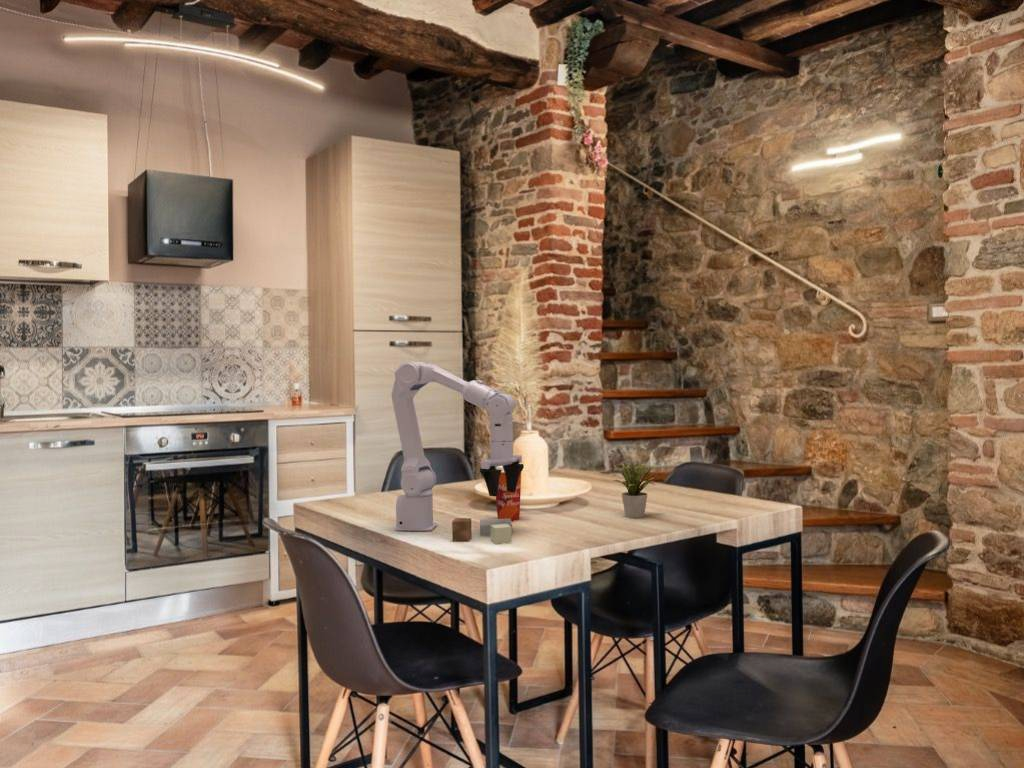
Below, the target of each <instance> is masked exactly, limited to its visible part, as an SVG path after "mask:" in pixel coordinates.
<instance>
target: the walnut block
mask: <svg viewBox="0 0 1024 768" xmlns="http://www.w3.org/2000/svg"><path fill="white" fill-rule="evenodd" d="M451 533H452V542H455V543H456V542H458V543H459V542H463V543H464V542H466V543H467V542H468V543H469V542H470V540H471V539H472V538H473V537H472V535H473V534H472V517H469V518H468V517H464V518H463V517H460V518H459V517H455V518H454V519H453V520H452V521H451Z"/></svg>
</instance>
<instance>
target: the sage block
mask: <svg viewBox="0 0 1024 768" xmlns="http://www.w3.org/2000/svg"><path fill="white" fill-rule="evenodd" d="M490 542H492V543H493V544H494V545H503V544H502V543H506V544H511V543H512V535H511V526H509V525H507V524H497V525H491V536H490ZM510 542H511V543H510Z"/></svg>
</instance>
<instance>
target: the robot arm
mask: <svg viewBox="0 0 1024 768" xmlns="http://www.w3.org/2000/svg"><path fill="white" fill-rule="evenodd" d="M429 383H437V384H439V385H441V386H444V387H446V388H448V389H451V390H453V391H456V392H458V393H460V394H462V397H463V400H464V401H466V402H468V403H470V404H471V405H472V404H473V405H474V406H476V407H478V408H480V409H482V410H485V411H487V413H488V414H489V416H490V417H489V418H490V419H489V423H490V424H489V429H490V431H489V432H490V433H489V434H490V438H489V439H490V442H489V443H490V457H489V458H486V459H483V460H481V461H480V467H479V472H480V474H481V475H482V478H483V479H484V482H485V485H486V488H487V492H488V495H489V497H494V498H496V496H497V495H498V483H499V477H500V474H501V471H502V470H498V469H496V468H495V467H498V466H503V469H504V472H505V476H506V485H507V491H508V492H515V491H516V487H517V482H518V479H519V476H520V473H521V474H522V471H524V468H525V467H524V466H525V465H524V463H523V456H522V454H514V444H513V443H514V430H513V428H514V425H513V424H514V422H513V412H514V411H515V410H516V409H515V408H516V401H515V399H514V397H513V396H512V395H510V394H509V392H501V393H500V389H498V388H492V387H489V386H487V385H486V384H484V381H483V380H481V379H477V380H475V379H474V380H470V381H466V380H464V379H462V378H460V377H458V376H456V375H454V373H451V372H449V371H447V370H445V369H443V368H442V367H440V366H438V365H436V364H433V363H429V362H427V361H424V360H423V361H421V360H420V361H404V362H402V363H401V364H400V365H399V366H398V367H397V369H396V370H395V371H394V382H393V386H392V391H391V401H392V405H393V410H394V416H395V420H396V425H397V431H398V434H399V436H398V437H399V440H400V446H401V450H402V454H403V455H402V456H403V463H402V466H401V469H400V471H401V479H400V487H401V490H402V491H403V492H404V493H405V494H399V495H398V496H397V498H396V501H395V502H396V504H395V518H396V520H395V521H396V522H395V523H396V526H395V527H396V528H395V531H409V532H410V531H411V532H412V531H413V532H414V531H417V532H418V531H423V532H425V531H426V532H427V531H428V532H430V531H433V529H435V528H436V527H437V526H438V522H434V504H433V503H434V502H433V500H434V498H433V495H434V494H433V488H434V487H435V486H436V483H437V476H436V473H435V471H434V470H433V469H432V467H431V462H430V461H429V460H428V458H426V456H425V452H424V448H423V443H422V436H421V433H420V429H419V423H418V418H417V417H418V416H417V414H416V413H417V412H416V408H415V403H414V399H415V396H417V394H418V392H419V391H420V390H421V389H422V388H423V387H425V386H426V385H428V384H429Z"/></svg>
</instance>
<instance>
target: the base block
mask: <svg viewBox="0 0 1024 768" xmlns="http://www.w3.org/2000/svg"><path fill="white" fill-rule="evenodd" d="M497 524H507V525H509V526H511V536H513V526H512V525H513V523H512V521H511V519H498V518H491V519H490V518H489V519H488V518H487V519H486V518H485V519H479V535H480V537H488V536H489V537H491V525H497Z"/></svg>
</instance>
